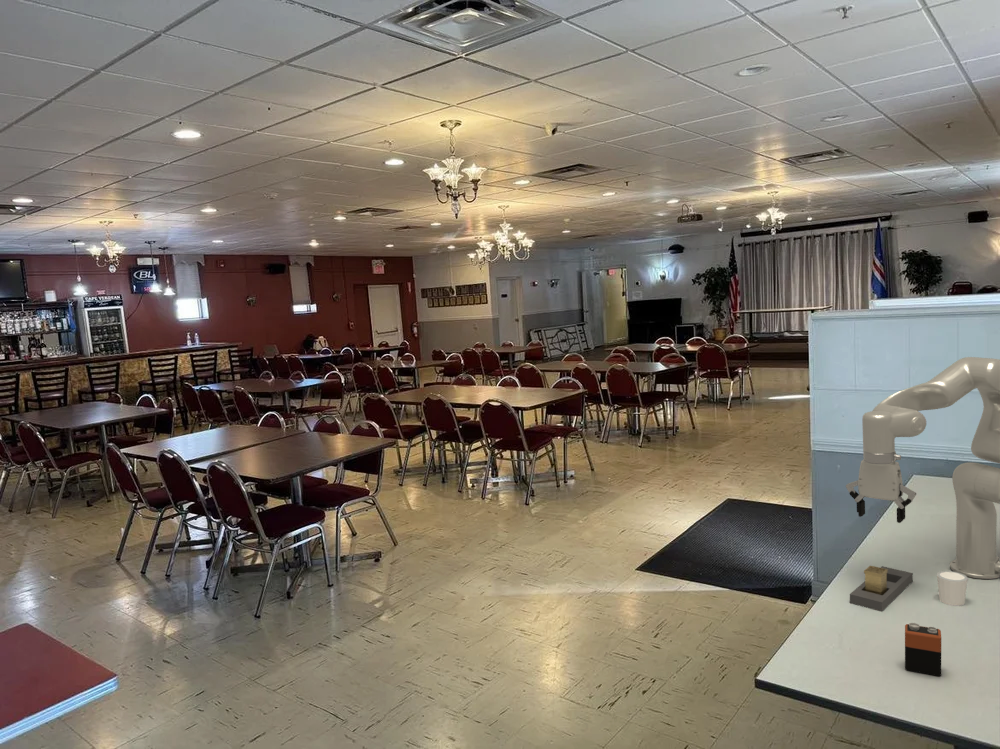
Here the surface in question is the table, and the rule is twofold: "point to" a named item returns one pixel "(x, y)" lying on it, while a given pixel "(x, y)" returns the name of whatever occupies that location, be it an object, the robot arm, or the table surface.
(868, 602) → the rail
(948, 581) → the white short cylinder
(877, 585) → the tan upright block
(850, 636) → the table surface
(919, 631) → the battery
